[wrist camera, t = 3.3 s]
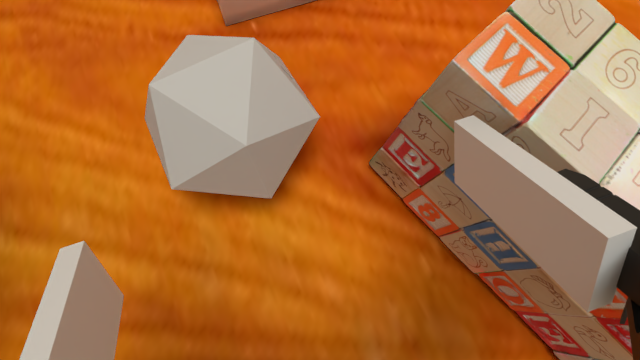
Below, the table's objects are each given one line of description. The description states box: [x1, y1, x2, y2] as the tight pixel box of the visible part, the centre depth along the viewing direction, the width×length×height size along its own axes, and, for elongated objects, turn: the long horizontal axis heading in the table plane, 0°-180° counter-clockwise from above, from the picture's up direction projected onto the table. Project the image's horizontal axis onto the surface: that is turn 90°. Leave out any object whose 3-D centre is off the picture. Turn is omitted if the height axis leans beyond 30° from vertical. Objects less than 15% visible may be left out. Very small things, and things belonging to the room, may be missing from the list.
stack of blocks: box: [369, 0, 640, 360], centre depth 19 cm, size 21×6×12 cm, turn 44°
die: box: [145, 35, 320, 199], centre depth 22 cm, size 8×9×10 cm
